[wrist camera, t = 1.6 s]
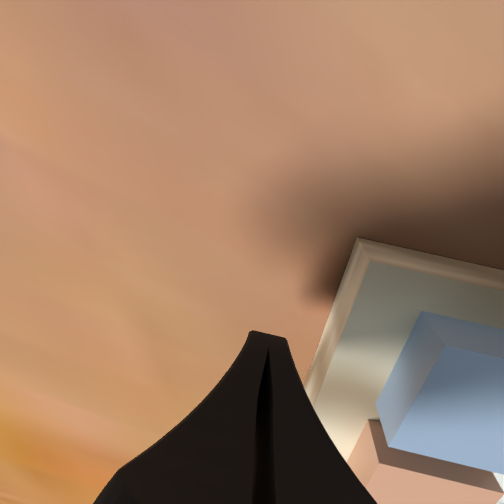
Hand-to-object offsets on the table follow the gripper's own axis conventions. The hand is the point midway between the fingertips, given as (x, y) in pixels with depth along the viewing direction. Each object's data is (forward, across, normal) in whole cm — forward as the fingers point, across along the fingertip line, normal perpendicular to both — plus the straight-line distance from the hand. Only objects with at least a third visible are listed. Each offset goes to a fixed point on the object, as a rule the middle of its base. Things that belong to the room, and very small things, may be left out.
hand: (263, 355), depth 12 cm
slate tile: (+2, -8, 0) cm, 8 cm away
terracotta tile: (+2, -8, +6) cm, 10 cm away
